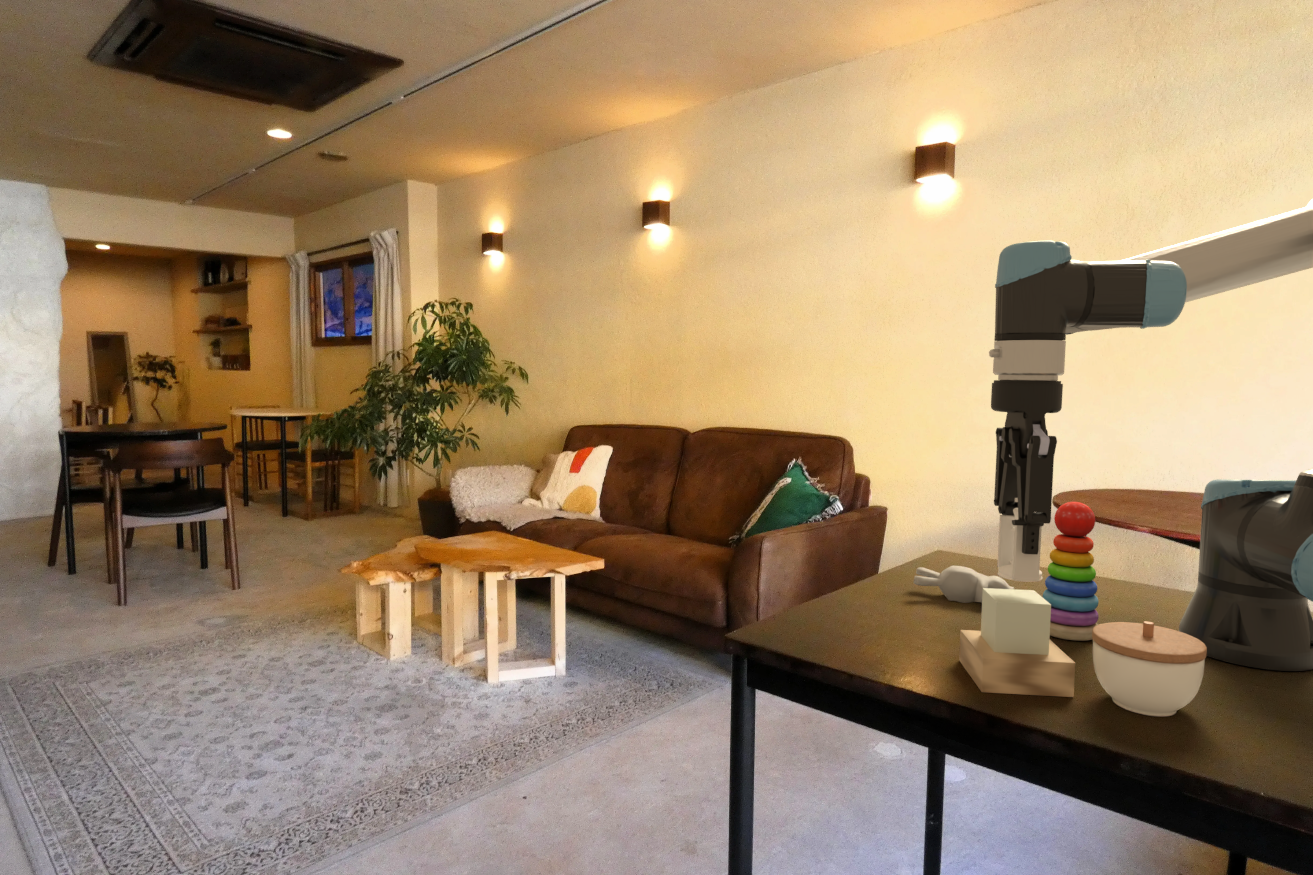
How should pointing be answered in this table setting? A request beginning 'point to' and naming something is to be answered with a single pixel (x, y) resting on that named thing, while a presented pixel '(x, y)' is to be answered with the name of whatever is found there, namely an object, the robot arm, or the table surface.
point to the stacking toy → (1072, 575)
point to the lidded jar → (1148, 666)
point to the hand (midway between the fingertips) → (1017, 573)
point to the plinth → (1016, 669)
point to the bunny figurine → (960, 583)
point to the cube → (1015, 621)
